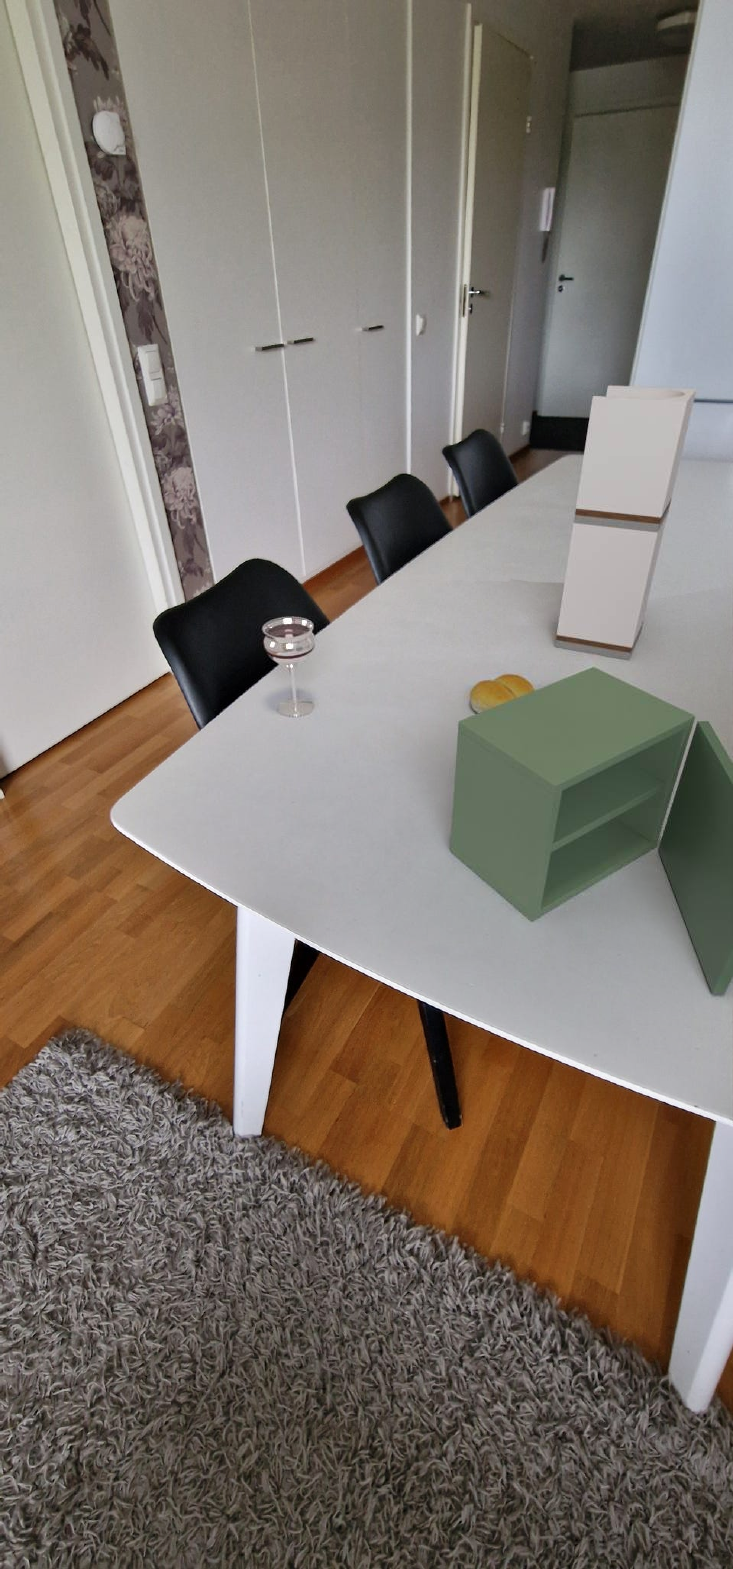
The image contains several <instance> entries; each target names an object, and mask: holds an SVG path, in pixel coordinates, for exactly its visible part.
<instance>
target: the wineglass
mask: <svg viewBox="0 0 733 1569" xmlns="http://www.w3.org/2000/svg"><path fill="white" fill-rule="evenodd" d="M261 630H262V633H263V634H264V637H263V648H264V651H265V653H266V654H267V656H268V658H269V659H271V660H272V661H274V662H275V663H277V664H278V665H282V666H285V667H286V668H288V671H289V678H290V685H291V690H292V691H291V692H292V698H291V699H287V700H284V701H283V702H281V703H280V704H279V705H278V706H277V710H278V713H280V714H281V715H282V716H285V717H291V718H295V717H302V716H305V715H308V714H310V713H311V712H313V710H314V704H313V702H312V701H310V700H308V699H306V698H297V682H296V681H297V680H296V668H297V666H299V665H301V664H303V663H305V662H306V661H307V660H308V659H309V658H310V657H311V656H312V654H313V653H314V650H315V648H316V647H315V646H316V637H315V634H314V633H313V630H314V623H313V622H312V620H309V619H308V618H305V617H301V616H282V617H278V618H274V619H271V620H269V621H267V622H266V623H264V624H263V625H262V628H261Z"/></svg>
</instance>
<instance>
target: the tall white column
mask: <svg viewBox="0 0 733 1569" xmlns="http://www.w3.org/2000/svg"><path fill="white" fill-rule="evenodd" d="M696 393H697V388H686V387H685V388H682V387H681V388H680V387H660V386H659V387H658V386H657V387H656V386H634V385H612V384H611V385H608V386H607V390H606V395H605V396H603V395H593V396H592V399H591V405H590V413H589V417H588V418H589V420H588V426H587V433H586V440H585V445H584V452H583V459H582V464H581V465H582V466H581V471H580V479H579V484H578V490H577V498H576V504H575V512H574V519H573V524H572V531H571V536H570V544H569V551H568V558H567V563H566V569H565V570H566V571H565V576H564V584H563V591H562V597H561V604H560V610H559V615H558V616H559V617H558V622H557V623H558V624H557V629H556V630H557V631H556V635H555V636H556V637H555V643H554V648H560V649H565V650H570V651H576V652H582V653H587V654H593V655H599V656H604V657H609V658H615V659H621V660H626V661H630V659H631V657H632V654H633V652H634V650H635V647H636V645H637V643H638V641H639V639H640V636H641V633H642V630H643V626H644V618H645V614H646V609H647V606H648V600H649V596H650V592H651V587H652V583H653V579H654V574H655V570H656V565H657V561H658V557H659V554H660V548H661V544H662V539H663V534H664V531H665V526H666V523H667V519H668V516H669V510H670V507H671V503H672V498H673V493H674V490H675V485H676V481H677V476H678V473H679V472H678V471H679V468H680V463H681V458H682V454H683V451H684V446H685V441H686V437H687V432H688V428H689V423H690V421H691V420H690V419H691V415H692V410H693V406H694V402H695V398H696V395H697V394H696Z"/></svg>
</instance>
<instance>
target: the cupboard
mask: <svg viewBox="0 0 733 1569" xmlns="http://www.w3.org/2000/svg"><path fill="white" fill-rule="evenodd" d="M695 719H696V715H694V714H693V713H690V712H688V711H686V710H685V709H684V710H683V709H682V708H680V707H678V706H676V705H673V704H672V703H670V702H667V701H666V700H663V699H661V698H659V697H657V696H655V695H653V694H651V693H649V692H648V691H645V690H642V689H640V688H639V687H636V686H634V685H632V684H631V683H628V682H626V681H624V680H622V679H620V678H618V677H616V676H614V675H611V674H610V673H608V672H605V671H603V670H601V669H599V668H597V667H595V666H592V667H589V668H587V669H584V670H582V671H579V672H577V673H575V674H572V675H570V676H567V677H564V678H563V679H560V680H557V681H555V682H552V683H550V684H547V685H545V686H543V687H541V688H537V689H535V691H533V692H530V693H528V694H525V695H523V696H520V697H518V698H515V699H513V700H510V701H508V702H506V703H503V704H501V705H498V706H496V707H493V708H491V709H488V710H486V711H483V712H481V713H477V714H474V715H471V716H468V717H466V718H464V719H461V720H459V721H458V727H457V738H456V739H457V741H456V754H455V770H454V783H453V784H454V785H453V786H454V787H453V801H452V815H451V828H450V829H451V831H450V845H449V852H450V853H451V854H452V855H454V857H456V858H457V859H458V860H459V861H461V862H462V863H463V864H464V865H465V866H467V868H469V869H470V870H471V871H472V872H473V873H474V874H476V875H477V876H478V877H479V878H480V879H482V880H483V881H484V882H485V883H486V884H487V885H488V886H490V888H492V889H493V890H494V891H495V892H496V893H497V894H498V895H500V896H501V897H502V898H503V899H504V900H506V902H508V903H509V904H510V905H512V906H513V907H514V908H515V909H516V910H517V911H519V912H520V914H522V915H523V916H524V917H525V918H526V919H528V921H530V922H532V923H533V922H534V921H535V920H537V919H539V918H541V917H542V916H544V915H546V914H548V913H549V912H551V911H552V910H554V909H556V908H558V906H560V905H562V904H564V903H565V902H567V901H569V900H570V899H572V898H574V897H576V896H577V895H579V894H580V893H582V892H584V891H585V890H587V889H588V888H590V887H592V886H593V885H595V884H597V883H598V882H600V881H602V880H603V879H605V878H607V877H609V876H610V875H612V874H614V873H615V872H617V871H619V870H620V869H622V868H623V867H625V866H627V865H628V864H630V863H632V862H633V861H635V860H637V859H639V858H640V857H642V856H643V855H645V854H647V853H649V852H650V851H652V850H654V849H655V848H657V845H658V843H659V838H660V835H661V831H662V829H663V825H664V823H665V819H666V815H667V812H668V808H669V805H670V802H671V798H672V794H673V793H674V789H675V786H676V783H677V779H678V776H679V772H680V769H681V766H682V763H683V759H684V756H685V752H686V749H687V746H688V743H689V739H690V736H691V733H692V730H693V725H694V724H695Z"/></svg>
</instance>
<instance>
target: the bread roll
mask: <svg viewBox="0 0 733 1569" xmlns="http://www.w3.org/2000/svg"><path fill="white" fill-rule="evenodd" d="M535 690H536V689H535V688H534V686H533V684H531V683H530V681H529V680H527V679H526V678H525V677H523V676H521V675H518V674H511V673H507V674H503V675H499V676H498V677H496V678H495V679H494V680H491V679H487V680H482V681H479V682H478V683H476V684H475V685H474V686H473V687H472V688H471V691H470V694H469V702H470V706H471V708H472V709H473V711H475V713H477V714H478V713H481V712H483V711H486V710H488V709H491V708H493V707H496V706H498V705H501V704H503V703H506V702H508V701H510V700H513V699H515V698H518V697H520V696H523V695H525V694H528V693H530V692H533V691H535Z"/></svg>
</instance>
